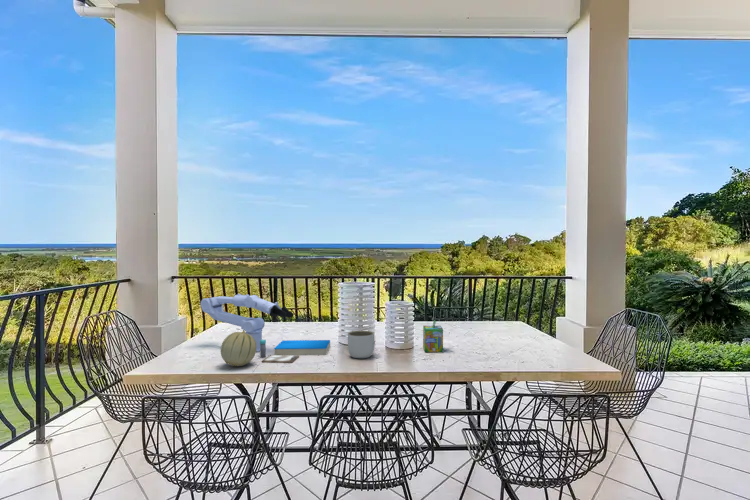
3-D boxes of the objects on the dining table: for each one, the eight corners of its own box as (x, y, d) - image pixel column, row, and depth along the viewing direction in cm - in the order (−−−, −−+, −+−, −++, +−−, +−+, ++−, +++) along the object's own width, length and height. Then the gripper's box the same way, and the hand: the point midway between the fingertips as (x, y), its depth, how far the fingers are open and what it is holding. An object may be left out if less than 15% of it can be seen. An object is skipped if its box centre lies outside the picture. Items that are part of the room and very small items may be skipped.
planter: (374, 360, 173) (374, 335, 173) (347, 360, 173) (346, 336, 173) (374, 352, 185) (374, 330, 185) (348, 353, 185) (348, 330, 185)
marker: (259, 357, 178) (259, 340, 178) (261, 356, 181) (261, 339, 181) (264, 357, 178) (264, 340, 178) (266, 356, 181) (266, 339, 181)
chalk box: (422, 348, 194) (422, 318, 194) (441, 348, 194) (440, 318, 194) (424, 352, 185) (424, 322, 185) (443, 352, 184) (443, 322, 185)
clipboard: (261, 362, 171) (261, 359, 171) (270, 356, 181) (270, 353, 181) (291, 363, 169) (291, 359, 169) (299, 357, 179) (298, 354, 179)
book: (326, 347, 182) (274, 347, 182) (326, 356, 182) (274, 356, 182) (330, 339, 199) (282, 339, 199) (330, 347, 199) (282, 347, 199)
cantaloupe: (213, 370, 160) (213, 334, 160) (231, 360, 174) (231, 327, 174) (246, 371, 158) (246, 335, 158) (262, 361, 172) (262, 328, 172)
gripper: (261, 297, 185) (285, 306, 181) (276, 300, 199) (298, 308, 195) (256, 311, 184) (279, 321, 180) (271, 313, 198) (293, 321, 194)
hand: (289, 315), depth 187 cm, fingers open, 7 cm apart
